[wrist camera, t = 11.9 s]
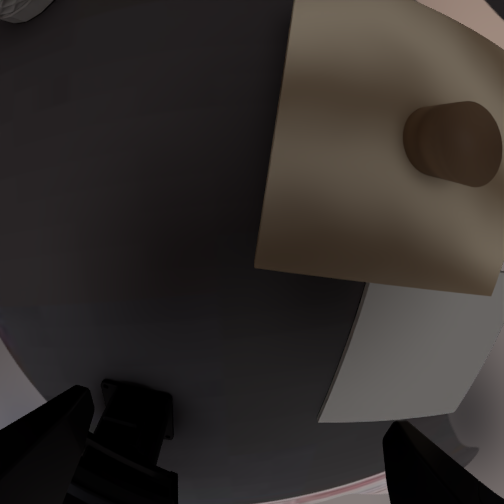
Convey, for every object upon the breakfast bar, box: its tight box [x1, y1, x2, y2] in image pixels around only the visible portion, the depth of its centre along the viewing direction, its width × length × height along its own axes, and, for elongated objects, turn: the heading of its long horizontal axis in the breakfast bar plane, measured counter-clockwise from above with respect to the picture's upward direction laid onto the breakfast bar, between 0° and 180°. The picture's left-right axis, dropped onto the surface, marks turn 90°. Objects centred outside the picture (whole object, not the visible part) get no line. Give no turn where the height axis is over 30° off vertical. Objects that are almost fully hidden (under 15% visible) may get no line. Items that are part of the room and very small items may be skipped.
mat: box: [317, 271, 504, 422], centre depth 22 cm, size 16×16×1 cm
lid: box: [254, 0, 504, 296], centre depth 11 cm, size 14×14×5 cm
